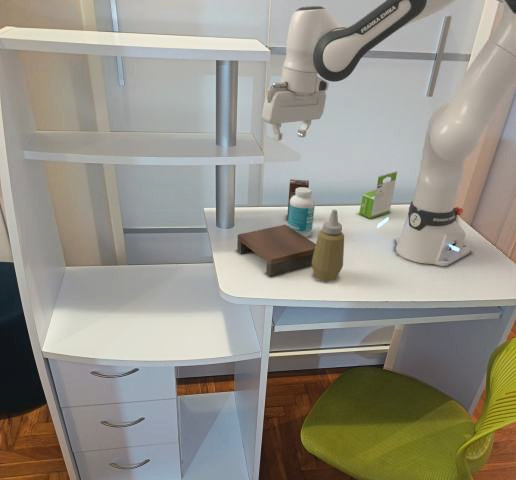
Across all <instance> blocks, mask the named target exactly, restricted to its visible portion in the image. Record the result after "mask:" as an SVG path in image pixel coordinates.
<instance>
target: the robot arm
mask: <svg viewBox="0 0 516 480" xmlns="http://www.w3.org/2000/svg"><path fill="white" fill-rule="evenodd" d="M455 1H456V0H384V1H383V2H382V3H380V5H378V6H377V7H376V8H374V9H372V10H371V11H370V12H368V13H367V14H366V15H365V16H363V17H362V18H360V19H359V20H358V21H356V22H355V23H353V24H352V25H350V26H348V27H346V26H345V25H343V24H342V23H340V22H339V21H338V20H336V19H335V18H334V17H333V16H332V15H331V14H330V13H329V12H328V10H327V9H326V7H323V6H321V5H311V6H304V7H303V6H302V7H299V8H298V9H296V10H295V11H294V12H293V13H292V16H291V18H290V21H289V22H290V23H289V26H288V30H287V37H286V43H285V52H286V55H285V59H284V62H283V65H282V70H281V71H282V72H281V79H280V82H272V85H270V86H269V88H267V93H266V95H265V99H264V102H263V106H262V112H261V119H262V120H263V122H264V123H267V124H270V125H271V128H272V131H273V140H274V141H276V142H278V141H282V139H283V133H281V129H280V128H281V127H282V124H286V123H296V122H302V124H301V127H300V128H298V130H297V137H299V138H305V137H306V136H307V132H308V129H309V128H310V126H311V124H312V121H315V120H320V119H321V118H322V117H323V115H324V111H325V106H326V100H327V91H328V89H329V85H330V84H329V82H332V83H334V82H340V81H343V80H345V79H347V78H348V77H350V75H351V74H352V73H353V72H354V70H355V69H356V68H357V65H358V64H359V63H360V61H361V60H362V58H363V57H364V56H365V55H366V54H367V53H368V52H370V51H371V50H372V49H373V48H375V47H376V46H377V45H379V44H380V43H382V42H384V41H385V40H386V39H387V38H389V37H390V36H391V35H393V34H394V33H396V32H397V31H398V30H400V29H402V28H403V27H406V26H407V25H410V24H412V23H414V22H415V23H416V22H417V21H420V20H422V19H424V18H428V17H429V16H431V15H433V14H436V13H438V12H439V11H442V10H443V9H445V8H446V7H448V6H450V5H451V4H452V3H454V2H455ZM496 1H497V2H500V3H502V4H503V11H502V12H503V13H502V15H501V19H500V20H499V22H498V25H497V27H496V28H495V29H494V30H493V32H492V33H491V35H490V36H489V37H488V39H487V40H486V41H485V44H484V45H483V46H482V48H481V50H480V51H479V52H478V53H477V55H476V57H475V58H474V60H473V61H472V62H471V64H470V66H469V67H468V68H467V69H466V71H465V72H464V74H463V76H462V79H461V81H460V83H459V85H458V87H457V88H456V90H455V91H454V94H453V95H452V97H451V99H450V101H449V102H447V103H444V104H442V105H440V106H439V107H437V108H436V109H435V110H434V111H433V112H432V114H431V115H430V117H429V120H428V122H427V128H426V132H425V133H426V134H425V138H424V144H423V149H422V154H421V160H420V166H419V172H418V175H417V176H418V177H417V181H416V185H415V189H414V194H413V198H412V201H411V202H410V204H409V207H408V212H407V216H406V217H405V220H404V223H403V224H402V229H401V232H400V235H399V237H397V238H396V241H395V243H396V246H395V252H396V253H397V254H398V255H399V256H400V257H402V258H403V259H405V260H408V261H411V262H415V263H419V264H426V265H436V266H440V267H447V266H450V265H452V264H453V263H455V262H456V261H459V259H462V258H463V257H466V256H467V255H469V254H470V253H471V248H470V247H469V246H468V245H467V244H466V243H465V240H466V231H465V230H464V228H462V226H461V225H460V224H459V223H458V222H457V216H458V217H459V216H462V215H463V213H464V208H462V207H459V206H456V202H457V198H458V196H459V192H460V188H461V185H462V181H463V173H464V167H465V161H466V159H467V158H468V157H469V156H471V155H472V154H473V152H475V150H476V148H477V146H478V143H479V141H480V139H481V138H482V136H483V135H484V133H485V131H486V130H487V129H488V127H489V125H490V124H491V122H492V120H493V118H494V117H495V115H496V113H497V111H498V110H499V108H500V106H501V105H502V103H503V101H504V100H505V99H506V97H507V95H508V94H509V93H510V92H511V90H512V89H513V88H514V86H515V85H516V0H496ZM318 75H319V76H320V77H319V76H318ZM388 221H389V217H386V218H385V219H383V220H382V221H381V222H379V223H378V224H377V227H376V228H377V229H379V228H380V227H381V226H383V225H384V224H385V223H387V222H388Z"/></svg>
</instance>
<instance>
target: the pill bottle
mask: <svg viewBox="0 0 516 480" xmlns="http://www.w3.org/2000/svg"><path fill="white" fill-rule="evenodd" d="M312 191H313V190H312V189H311V188H310V187H309V188H305V187H299V188H296V191H295V194H296V195H294V196H293V197H291V199H290V205H289V217H288V220H287V226H288V227H290V228H292V229H293V230H295V231H296V232H298V233H299V234H301V235H303V236H304V237H306V238H308V237H310V236H311V235H312V232H313V224H314V215H315V207H316V200H315V198H313V196H312V195H313V194H312Z"/></svg>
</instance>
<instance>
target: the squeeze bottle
mask: <svg viewBox="0 0 516 480" xmlns="http://www.w3.org/2000/svg"><path fill="white" fill-rule="evenodd" d="M338 215H339V214H338V210H337V209H332V210H331V213H330V215H329V217H328V221H325V222H324V223H323V224H322V229H321V230H320V231H319V232H318V233H317V237H316V242H315V244H316V246H315V250H314V254H313V259H312V266H311V267H312V271H313V275H314V277H315V279H317V280H319V281H322V282H333V281H335V280H337V278H338V276H339V275H340V272H341V271H342V269H343V266H344V256H345V255H344V254H345V253H344V252H345V234H344V233H343V232H342V231H343V230H342V229H343V225H342V223H340V222H339V216H338Z"/></svg>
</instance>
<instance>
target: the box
mask: <svg viewBox="0 0 516 480" xmlns="http://www.w3.org/2000/svg"><path fill="white" fill-rule="evenodd" d="M299 187H305V188H309V189H310V181H309V180H304V179H289V187H288V188H289V189H288V201H287V202H288V203H287V217H286V220H287V221H288V217H289V205H290V199H291V197H293V196H294V195H296V194H295V191H296V188H299Z"/></svg>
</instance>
